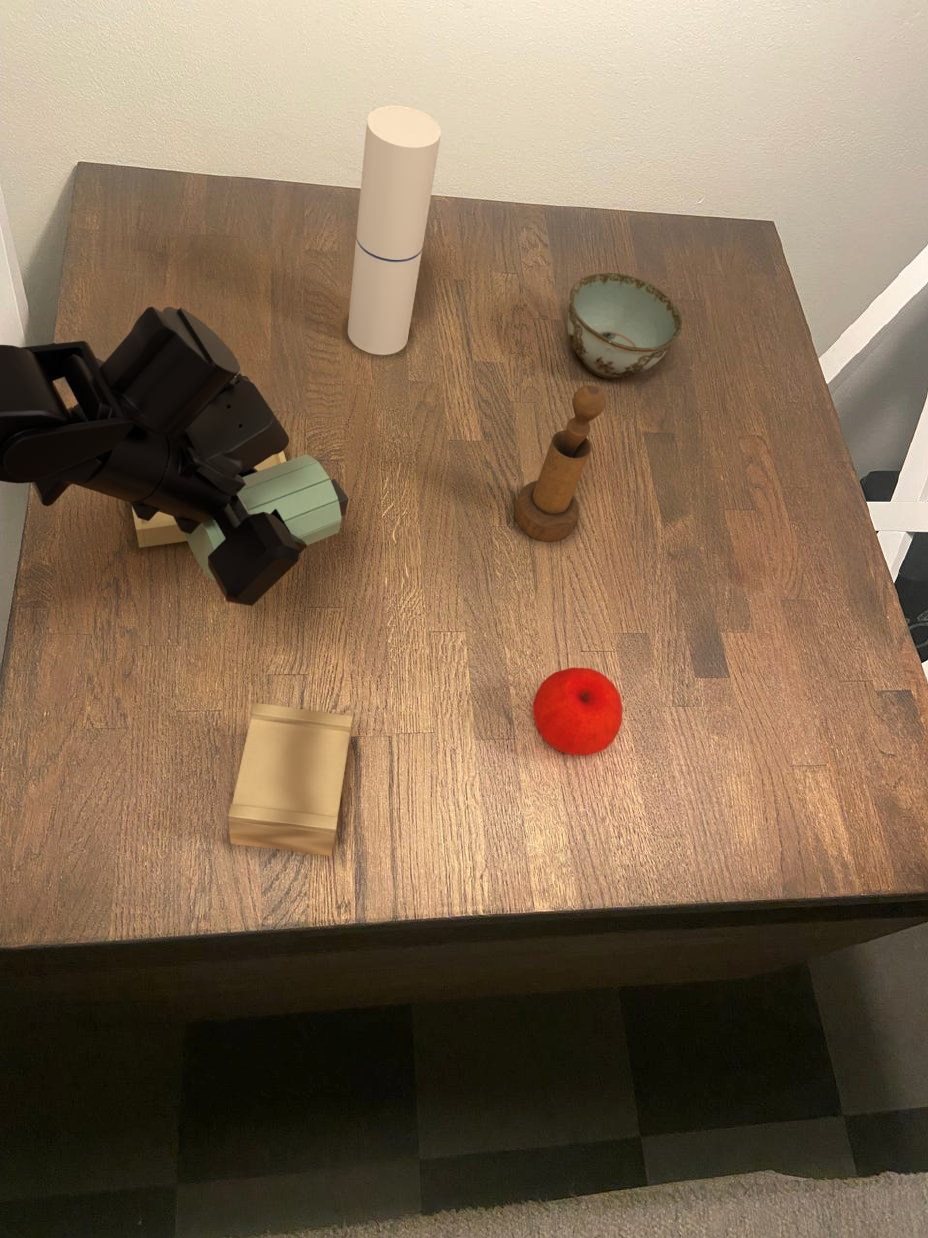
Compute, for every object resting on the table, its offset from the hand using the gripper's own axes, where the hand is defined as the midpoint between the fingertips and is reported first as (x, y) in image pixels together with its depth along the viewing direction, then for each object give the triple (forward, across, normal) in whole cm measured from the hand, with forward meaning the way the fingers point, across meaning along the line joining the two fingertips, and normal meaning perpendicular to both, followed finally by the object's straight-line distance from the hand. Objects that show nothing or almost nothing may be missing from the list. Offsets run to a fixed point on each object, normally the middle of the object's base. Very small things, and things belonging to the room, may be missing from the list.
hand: (282, 516), depth 77 cm
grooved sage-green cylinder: (-2, 0, +1) cm, 2 cm away
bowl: (+44, +15, -28) cm, 54 cm away
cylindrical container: (+27, +29, -11) cm, 41 cm away
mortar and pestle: (+29, -2, -13) cm, 31 cm away
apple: (+20, -24, -4) cm, 32 cm away
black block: (+2, 0, -2) cm, 3 cm away
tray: (+8, +15, +8) cm, 19 cm away
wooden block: (+3, -18, +14) cm, 23 cm away
